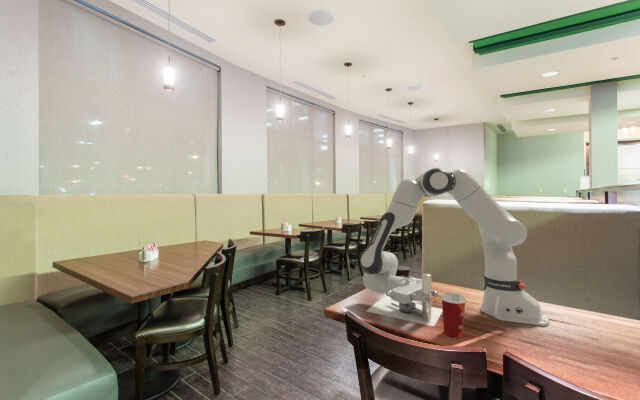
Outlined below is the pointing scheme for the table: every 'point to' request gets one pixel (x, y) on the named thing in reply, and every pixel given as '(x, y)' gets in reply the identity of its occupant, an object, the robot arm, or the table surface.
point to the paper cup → (453, 314)
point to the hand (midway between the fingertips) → (431, 296)
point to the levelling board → (392, 310)
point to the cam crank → (426, 305)
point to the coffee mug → (402, 271)
